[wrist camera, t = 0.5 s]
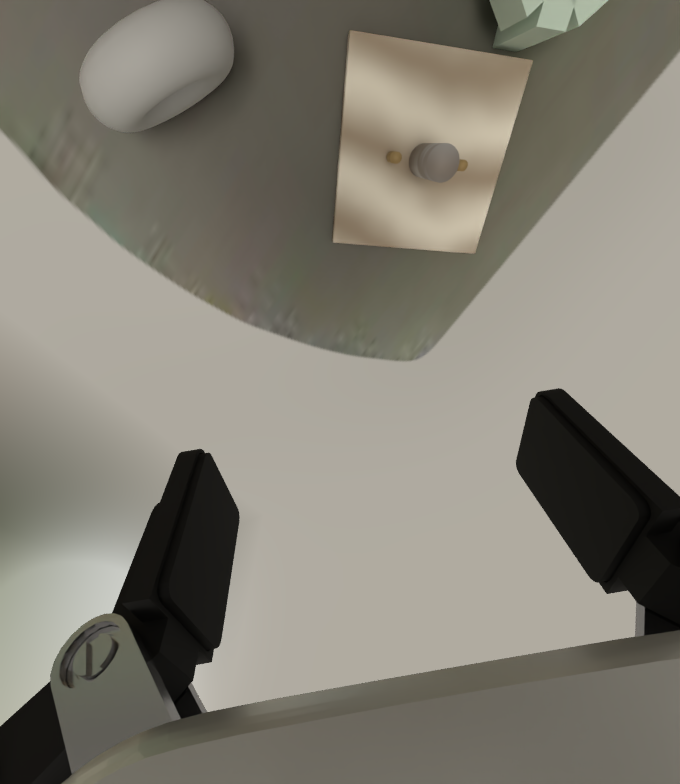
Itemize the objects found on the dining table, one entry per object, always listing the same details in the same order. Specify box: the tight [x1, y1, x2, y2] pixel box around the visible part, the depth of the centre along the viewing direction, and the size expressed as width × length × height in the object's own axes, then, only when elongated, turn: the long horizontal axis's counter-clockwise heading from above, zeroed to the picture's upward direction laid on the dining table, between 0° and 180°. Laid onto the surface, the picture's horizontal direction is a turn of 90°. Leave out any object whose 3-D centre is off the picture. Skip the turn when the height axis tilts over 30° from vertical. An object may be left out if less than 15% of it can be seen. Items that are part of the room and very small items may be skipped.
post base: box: [332, 30, 533, 254], centre depth 28 cm, size 14×14×6 cm
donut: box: [79, 0, 234, 133], centre depth 22 cm, size 10×4×10 cm, turn 115°
